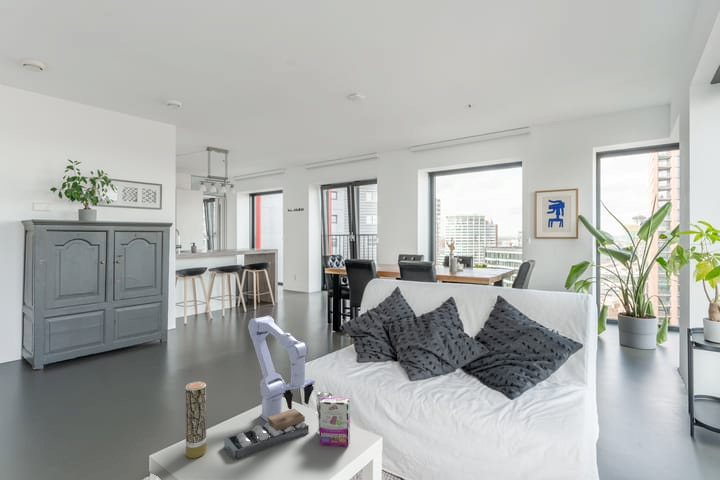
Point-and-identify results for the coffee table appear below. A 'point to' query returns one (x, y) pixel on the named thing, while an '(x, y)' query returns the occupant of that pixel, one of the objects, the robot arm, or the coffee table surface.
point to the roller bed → (264, 438)
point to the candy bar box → (335, 421)
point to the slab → (286, 419)
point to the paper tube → (195, 419)
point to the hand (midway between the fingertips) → (298, 405)
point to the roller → (242, 440)
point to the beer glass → (318, 399)
